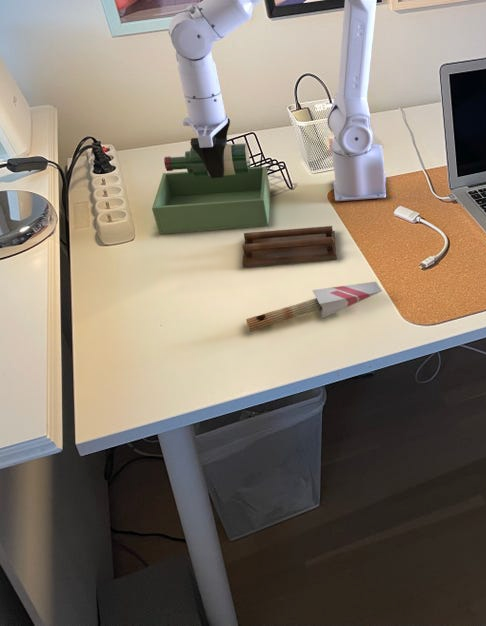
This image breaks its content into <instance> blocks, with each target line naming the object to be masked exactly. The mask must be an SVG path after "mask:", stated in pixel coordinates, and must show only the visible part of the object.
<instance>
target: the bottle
mask: <svg viewBox="0 0 486 626" xmlns="http://www.w3.org/2000/svg"><path fill="white" fill-rule="evenodd" d="M163 159H164V161H163V162H164V168H165V170H166V171H167V172H174V171H177V170H187V171H186V172H188V173H189V174H194V176H195V177H210V175H209V173H208V171H207V169H206V167H205V165H204V163H203V161H202V159H201V158H200V156H199V155H198V154H197V152H196V151H195V150H194V149H193V148H192V146H190V148H189V150H186V151H184V156H164V158H163ZM250 167H251V158H250V152H249V147H248V144H247V143H245V142H243V143H227V144H226V146H225V149H224V176H228V175H240V174H250V171H251V168H250Z"/></svg>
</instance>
